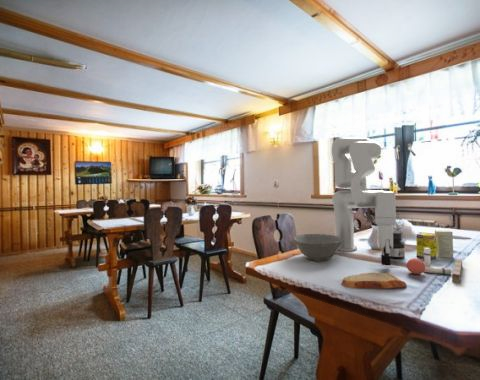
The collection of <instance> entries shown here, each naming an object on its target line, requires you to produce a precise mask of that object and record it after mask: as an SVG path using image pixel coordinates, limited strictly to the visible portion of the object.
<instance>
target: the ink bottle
mask: <svg viewBox="0 0 480 380" xmlns="http://www.w3.org/2000/svg"><path fill="white" fill-rule="evenodd" d="M402 233H403V232H402V231H400V230H399V231H397V230H393V249H392V250H391V249H390V258H391V259H392V258H394V260H402V259H404V258H405V254H406V253H405V249H406V247H405V243H404V242H403V241H402V240H403V234H402Z"/></svg>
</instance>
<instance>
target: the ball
mask: <svg viewBox="0 0 480 380" xmlns="http://www.w3.org/2000/svg"><path fill="white" fill-rule="evenodd" d="M406 269H407V270H408V272H410V273H411V274H413V275H421V274H422V273H425V272H424V270H425V265H424V261H423V260H421V259H420V258H414V257H413V258H410V259H408V260H407V262H406Z"/></svg>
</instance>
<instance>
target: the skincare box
mask: <svg viewBox="0 0 480 380" xmlns="http://www.w3.org/2000/svg"><path fill="white" fill-rule="evenodd" d="M434 235H436V258H449V259H450V258H451V259H452V258H453V259H454V241H453V236H454V235H453V231H451V230H445V229H444V230H443V229H442V230H439V229H436V230H434Z"/></svg>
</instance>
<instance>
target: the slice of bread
mask: <svg viewBox="0 0 480 380" xmlns="http://www.w3.org/2000/svg"><path fill="white" fill-rule="evenodd" d="M341 286H342V287H345V288H350V289H361V290H363V289H364V290H391V289H392V290H394V289H403V287H404V288H406V287H407V283H406V282H405V281H403V280H401V279H399V278H398V277H396V276H395V275H392V274H390V273H387V272H367V273H359V274H354V275H348V276H345V277H344V278H343V279H342V281H341Z"/></svg>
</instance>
